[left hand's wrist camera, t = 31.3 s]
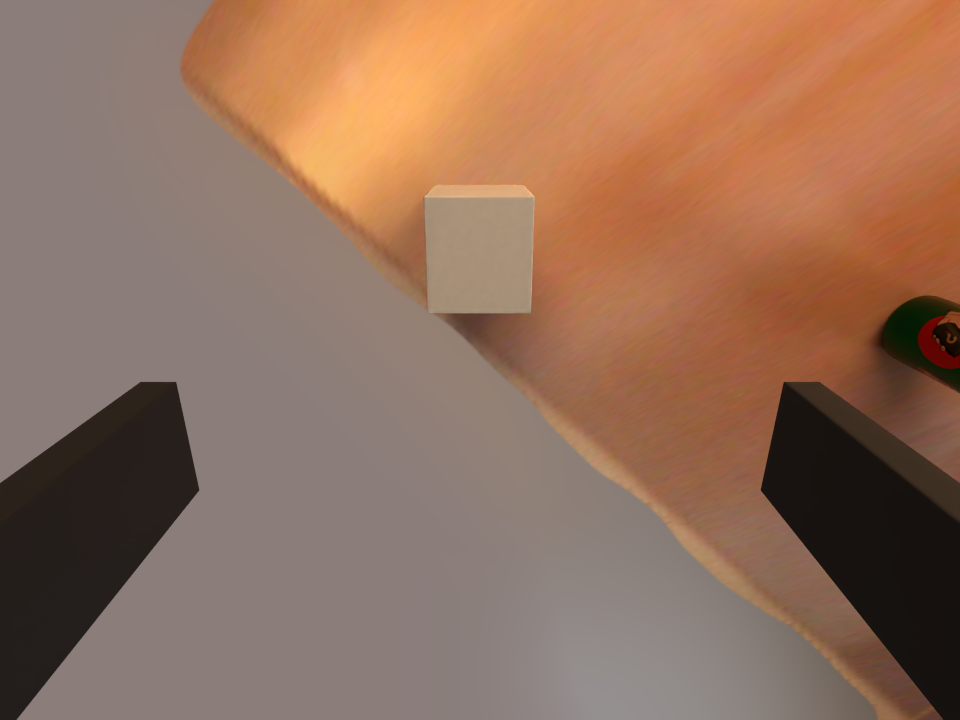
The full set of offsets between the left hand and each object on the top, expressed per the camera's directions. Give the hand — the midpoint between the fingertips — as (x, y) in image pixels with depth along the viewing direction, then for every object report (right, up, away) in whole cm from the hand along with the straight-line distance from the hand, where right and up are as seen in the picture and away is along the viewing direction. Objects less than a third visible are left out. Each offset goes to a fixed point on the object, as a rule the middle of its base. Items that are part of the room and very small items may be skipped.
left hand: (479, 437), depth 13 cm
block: (0, +10, +27) cm, 29 cm away
